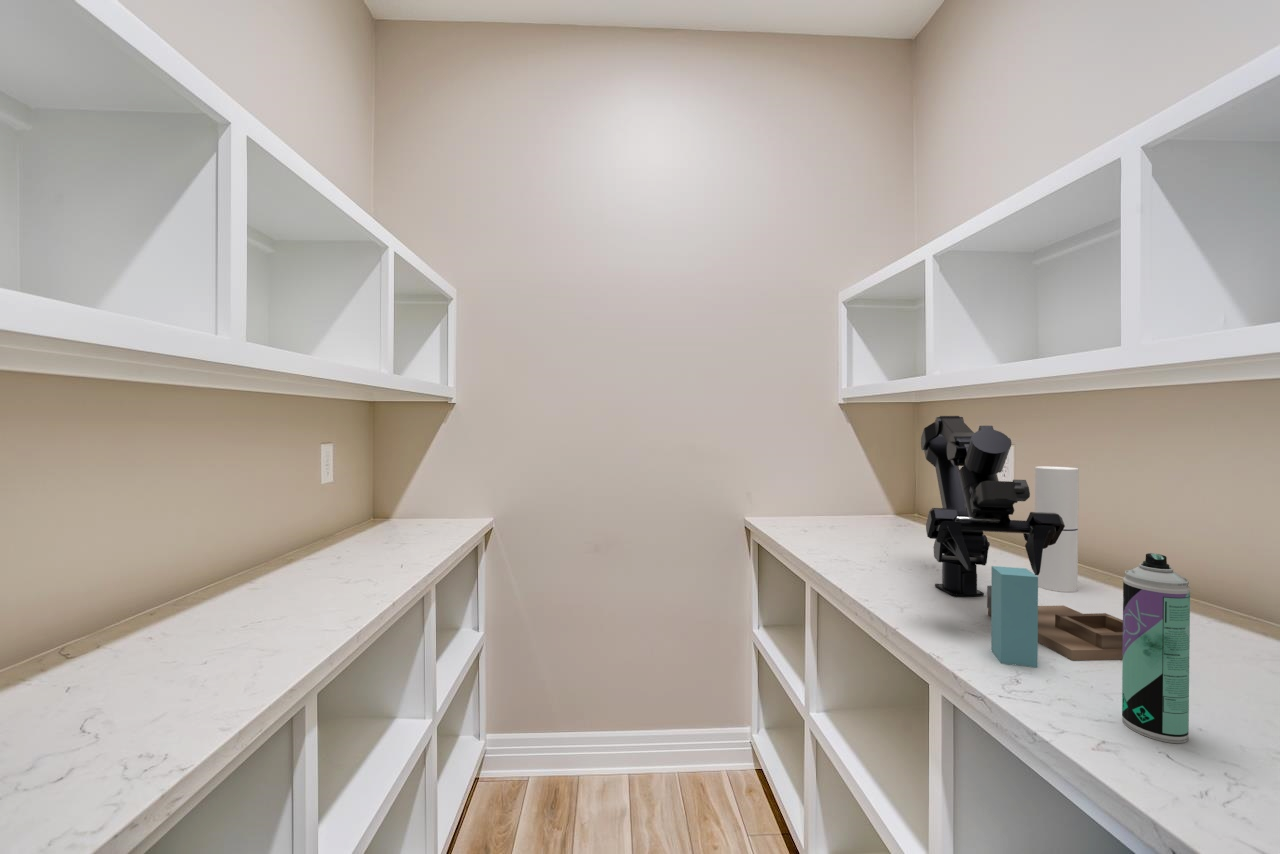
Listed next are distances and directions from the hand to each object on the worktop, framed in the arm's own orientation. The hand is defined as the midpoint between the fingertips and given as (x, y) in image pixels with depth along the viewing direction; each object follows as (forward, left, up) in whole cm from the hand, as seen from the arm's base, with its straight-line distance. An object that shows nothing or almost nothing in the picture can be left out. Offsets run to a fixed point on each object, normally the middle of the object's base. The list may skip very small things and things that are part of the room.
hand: (1002, 571), depth 83 cm
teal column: (+5, -2, -12) cm, 13 cm away
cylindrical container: (-27, +31, -12) cm, 43 cm away
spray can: (+23, +1, -12) cm, 26 cm away
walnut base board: (-3, +13, -12) cm, 18 cm away
